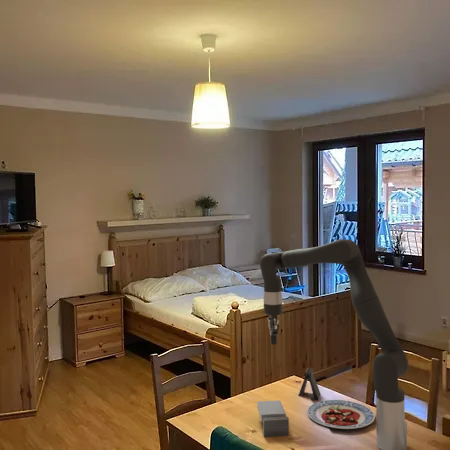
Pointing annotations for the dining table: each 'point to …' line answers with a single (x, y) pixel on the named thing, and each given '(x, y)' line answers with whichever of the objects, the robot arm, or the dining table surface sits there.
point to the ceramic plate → (341, 414)
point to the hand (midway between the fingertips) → (273, 343)
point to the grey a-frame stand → (314, 386)
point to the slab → (270, 409)
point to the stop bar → (275, 426)
